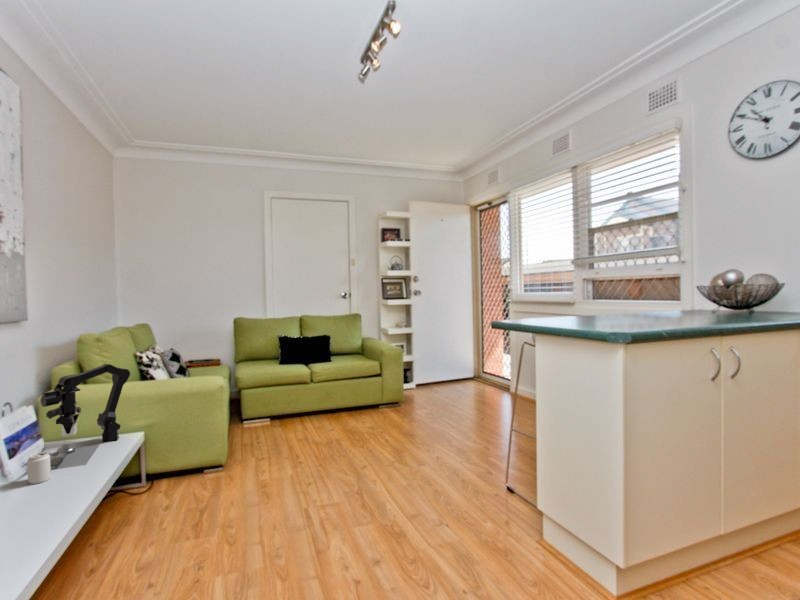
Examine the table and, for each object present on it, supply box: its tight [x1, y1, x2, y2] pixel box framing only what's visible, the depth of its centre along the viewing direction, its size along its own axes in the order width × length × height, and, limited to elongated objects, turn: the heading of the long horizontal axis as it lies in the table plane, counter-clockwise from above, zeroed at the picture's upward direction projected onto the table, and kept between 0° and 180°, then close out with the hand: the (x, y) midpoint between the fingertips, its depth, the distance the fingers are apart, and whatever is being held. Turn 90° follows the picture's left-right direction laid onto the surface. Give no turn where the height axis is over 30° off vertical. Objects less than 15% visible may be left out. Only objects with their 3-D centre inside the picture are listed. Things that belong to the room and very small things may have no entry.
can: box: [26, 451, 52, 485], centre depth 179 cm, size 8×8×12 cm
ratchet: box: [50, 441, 76, 471], centre depth 200 cm, size 7×24×4 cm, turn 24°
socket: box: [61, 421, 78, 437], centre depth 207 cm, size 5×5×5 cm
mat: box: [50, 442, 102, 470], centre depth 203 cm, size 18×28×1 cm, turn 24°
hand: (69, 431), depth 207 cm, fingers closed on socket, 5 cm apart
